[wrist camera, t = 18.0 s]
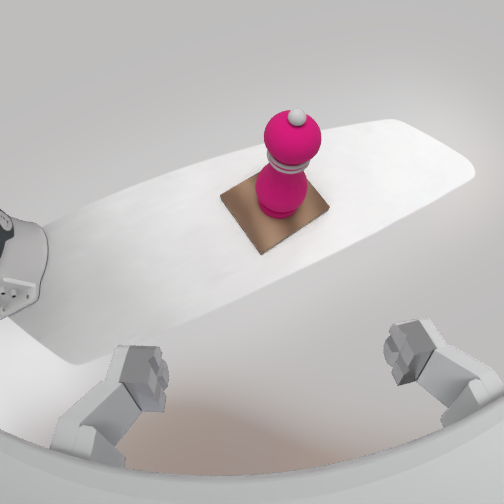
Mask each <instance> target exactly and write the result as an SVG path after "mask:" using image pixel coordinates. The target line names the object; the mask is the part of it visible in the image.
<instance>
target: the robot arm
mask: <svg viewBox="0 0 504 504" xmlns="http://www.w3.org/2000/svg"><path fill="white" fill-rule="evenodd" d="M47 254H48V246H47V239H46V236H45V233H44V231H43V229H42V228H41V227H40V226H39V225H37V224H36V223H33V222H26V221H22V220H18V219H15V218H13V217H10V216H8V215H7V214H6V213H5V212H3V211H2V210H1V209H0V320H1V319H3V318H5V317H7V316H9V315H11V314H13V313H15V312H17V311H18V310H20V309H22V308H24V307H26V306H28V305H30V304H32V303H34V302H36V301H37V299H38V296H39V287H40V281H41V278H42V275H43V273H44V270H45V266H46V262H47ZM389 333H390V336H389V337H388V338H387V339H386V341H385V344H384V356H385V360H386V362H387V363H388V364H389V365H390V366H392V367H393V369H392V375H393V377H394V379H395V381H396V383H397V386H399V385H403V384H407V383H411V382H414V381H416V382H417V383H418V384H419V385H420V386H422V387H423V388H424V389H425V390H426V391H428V392H429V393H430V394H431V395H433V396H434V397H435V398H436V399H437V400H439V401H440V402H441V403H442V404H444V405H445V406H446V407H447V408H448V409H447V410H446V412H445V413H444V414H443V415H442V416H441V419H440V420H441V422H442V424H443V427H444V428H442V429H440V430H437V431H435V432H433V433H431V434H428V435H425V436H423V437H420V438H418V439H415V440H413V441H410V442H407V443H404V444H402V445H399V446H396V447H393V448H390V449H387V450H383V451H381V452H377V453H374V454H370V455H367V456H363V457H359V458H355V459H351V460H347V461H343V462H338V463H334V464H329V465H324V466H319V467H313V468H307V469H301V470H293V471H286V472H277V473H267V474H254V475H236V476H235V475H234V476H232V475H231V476H202V475H181V474H168V473H158V472H149V471H141V470H135V469H128V468H125V461H126V458H125V456H124V455H123V454H122V453H121V452H120V451H118V450H117V449H116V448H115V445H116V444H117V443H118V441H119V440H120V439H121V438H122V437H123V435H124V434H125V433H126V432H127V430H128V429H129V428H130V427H131V426H132V424H133V423H134V422H135V421H136V419H137V418H138V417H139V416H140V414H141V413H142V412H141V411H146V412H164V409H165V402H166V395H165V393H164V390H165V389H166V388H167V387H168V381H169V374H168V367H167V364H166V362H165V361H164V360H162V359H161V357H162V352H161V350H160V347H155V346H127V345H118V346H117V347H116V349H115V351H114V354H113V357H112V360H111V363H110V366H109V369H108V372H107V375H106V378H105V381H101V382H99V383H98V384H97V385H96V386H95V387H94V388H92V389H91V390H90V391H89V392H88V393H87V394H86V395H85V396H83V397H82V398H81V399H80V400H79V401H78V402H77V403H75V404H74V405H73V406H72V407H71V408H70V409H69V410H68V411H66V412H65V413H64V414H63V415H62V416H61V417H60V418H59V419H58V422H57V426H56V428H55V432H54V435H53V438H52V442H51V445H50V449H48V448H45V447H42V446H40V445H37V444H34V443H32V442H29V441H26V440H24V439H21V438H18V437H17V436H14V435H12V434H10V433H7V432H5V431H3V430H1V429H0V504H504V386H503V384H502V382H501V381H500V379H499V377H498V376H497V374H496V372H495V371H494V369H492V368H490V367H488V366H487V365H485V364H483V363H482V362H480V361H478V360H476V359H475V358H473V357H471V356H469V355H468V354H466V353H464V352H462V351H461V350H459V349H457V348H455V347H453V346H452V345H447V344H446V342H445V341H444V339H443V338H442V336H441V335H440V333H439V332H438V330H437V329H436V327H435V326H434V324H433V323H432V321H431V320H430V319H429V318H428V317H423V318H418V319H414V320H409V321H404V322H399V323H395V324H393V325H392V326H391V327H390V330H389Z"/></svg>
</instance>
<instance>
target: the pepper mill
mask: <svg viewBox="0 0 504 504" xmlns="http://www.w3.org/2000/svg"><path fill="white" fill-rule="evenodd" d="M264 142H265V145H266V148H267V158H268V161H269V163H268V164H267V165H266V166H265V167H264V168H263V169H262V170H261V171H260V173H259V175H258V177H257V180H256V185H255V190H256V194H257V197H258V204H259V207H260V208H261V210H262V211H263V212H264V213H265V214H266V215H268V216H269V217H272V218H275V219H284V218H287V217H289V216H291V215H292V214H294V212H295V211H296V210H297V208H298V207H299V206H300V205H301V204H302V203H303V201H304V199H305V197H306V194H307V188H308V185H307V178H306V175H305V173H304V171H303V170H304V169H305V168H306V167H307V166H308V165H309V162H310V159H312V158H313V157H314V156H315V155H316V154H317V152H318V150H319V148H320V145H321V131H320V128H319V126H318V125H317V123H316V122H315V121H314V120H313V119H312V118H311V117H310V116H309V115H307V114H305V112H304V111H303V110H301V109H298V108H296V109H292V110H288V111H283V112H281V113H278V114H276V115H275V116H274V117H273V118H271V120H270V121H269V122H268V124H267V126H266V128H265V132H264Z"/></svg>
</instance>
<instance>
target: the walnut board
mask: <svg viewBox="0 0 504 504" xmlns="http://www.w3.org/2000/svg"><path fill="white" fill-rule="evenodd" d="M259 173H260V172H259ZM259 173H257V174H255V175H254V176H252V177H250V178H248V179H247V180H245V181H243V182H242V183H240V184H238V185H236V186H235V187H233V188H231V189H230V190H228V191H226V192H225V193H223V194H221V195H220V197H221V200H222V201H223V202H224V204H225V205H226V207H227V208H228V209H229V211H230V212H231V214H232V215H233V216H234V218H235V219H236V221H237V222H238V223H239V225H240V226H241V228H242V229H243V230H244V232H245V233H246V235H247V236H248V237H249V239H250V240H251V242H252V243H253V244H254V246H255V247H256V249H257V250H258V251H259V253H260V254H261V255H262V254H263V253H265V252H266V251H268V250H269V249H271V248H272V247H274V246H275V245H277V244H278V243H280V242H281V241H283V240H284V239H286V238H287V237H289V236H290V235H292V234H293V233H295V232H296V231H298V230H299V229H301V228H302V227H304V226H305V225H307V224H308V223H310V222H311V221H313V220H314V219H316V218H317V217H319V216H320V215H322V214H323V213H325V212H326V211H328V209H329V208H330V207H329V205H328V204H327V203H326V202H325V200H324V199H323V198H322V197H321V195H320V194H319V193H318V192H317V191H316V189H315V188H314V187H313V186H312V185H311V183H310V182H309V181H308V180H307V185H308V188H307V194H306V197H305V199H304V201H303V203H302V204H301V205H300V206H299V207H298V208H297V210H296V211H295V212H294V214H292V215H291V216H289V217H287V218H284V219H275V218H272V217H269V216H268V215H266V214H265V213H264V212H263V211H262V210H261V208H260V207H259V204H258V197H257V194H256V190H255V185H256V180H257V177H258V175H259Z"/></svg>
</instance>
